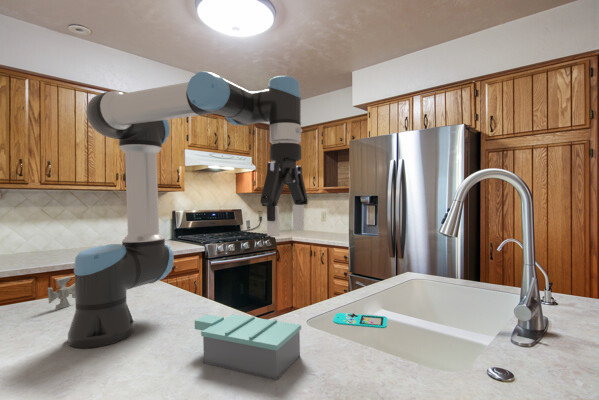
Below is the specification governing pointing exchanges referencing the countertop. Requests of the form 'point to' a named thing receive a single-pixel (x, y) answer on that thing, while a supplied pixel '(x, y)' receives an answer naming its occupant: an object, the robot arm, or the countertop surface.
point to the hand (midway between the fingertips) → (287, 232)
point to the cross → (62, 293)
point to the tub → (252, 356)
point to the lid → (247, 330)
